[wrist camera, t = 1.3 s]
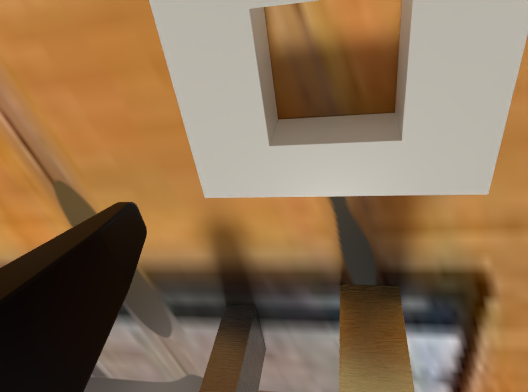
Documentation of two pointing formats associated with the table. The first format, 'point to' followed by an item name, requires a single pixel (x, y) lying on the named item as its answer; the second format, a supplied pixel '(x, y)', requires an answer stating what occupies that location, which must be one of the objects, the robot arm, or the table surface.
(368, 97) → the table surface
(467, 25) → the grey slab with hole
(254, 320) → the bar
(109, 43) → the table surface
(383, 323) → the square bit
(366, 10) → the table surface
